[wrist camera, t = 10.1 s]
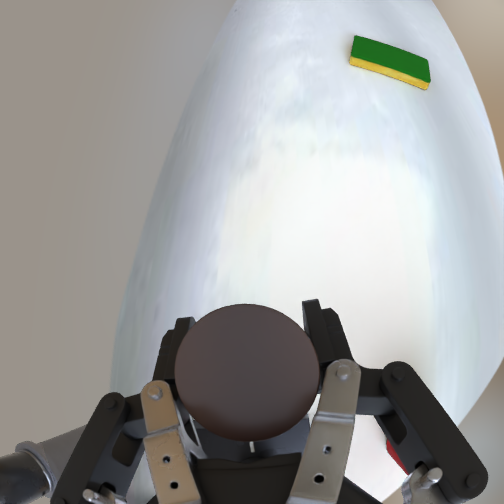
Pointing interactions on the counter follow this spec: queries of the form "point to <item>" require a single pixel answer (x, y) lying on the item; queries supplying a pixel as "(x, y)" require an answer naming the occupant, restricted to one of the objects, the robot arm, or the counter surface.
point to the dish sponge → (390, 61)
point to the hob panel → (253, 444)
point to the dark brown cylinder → (247, 372)
